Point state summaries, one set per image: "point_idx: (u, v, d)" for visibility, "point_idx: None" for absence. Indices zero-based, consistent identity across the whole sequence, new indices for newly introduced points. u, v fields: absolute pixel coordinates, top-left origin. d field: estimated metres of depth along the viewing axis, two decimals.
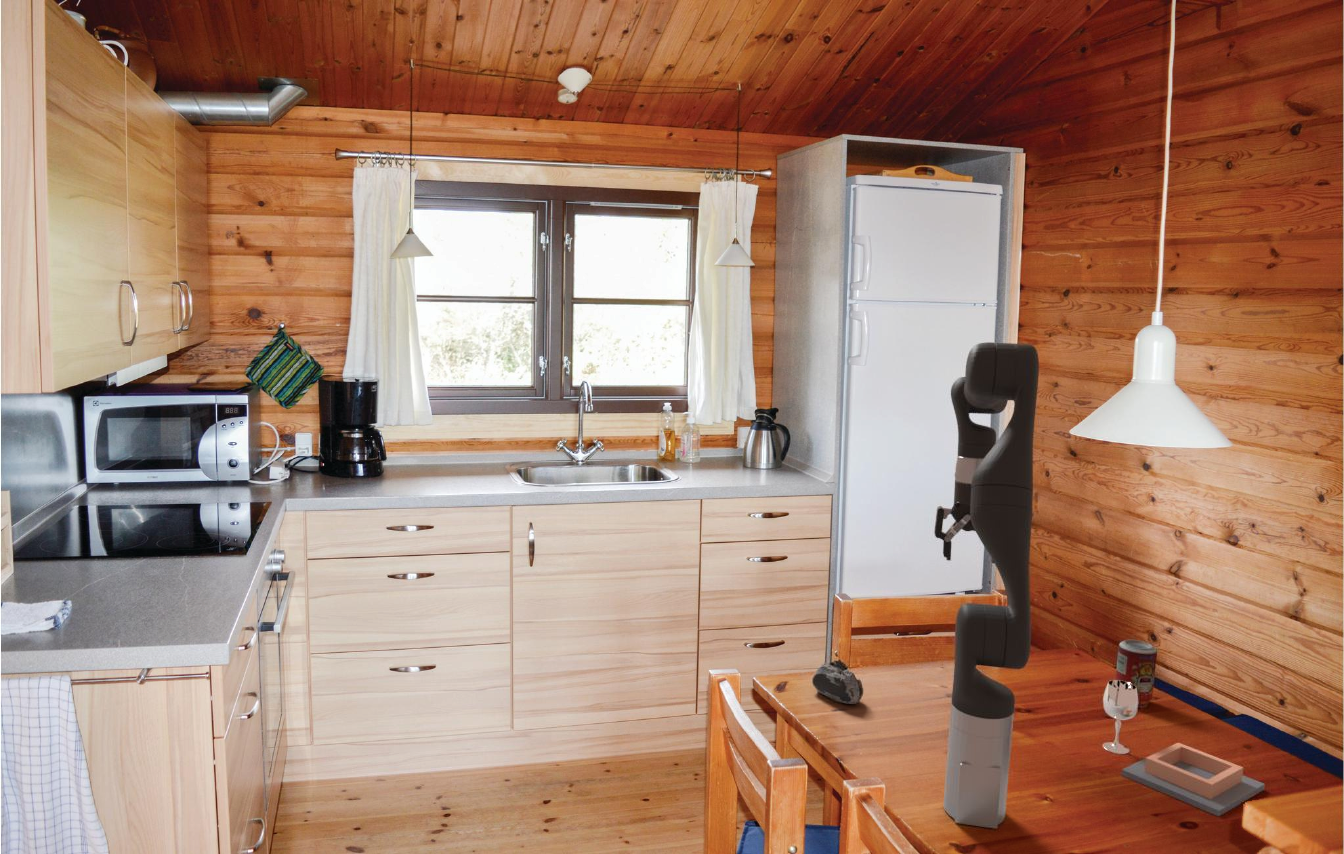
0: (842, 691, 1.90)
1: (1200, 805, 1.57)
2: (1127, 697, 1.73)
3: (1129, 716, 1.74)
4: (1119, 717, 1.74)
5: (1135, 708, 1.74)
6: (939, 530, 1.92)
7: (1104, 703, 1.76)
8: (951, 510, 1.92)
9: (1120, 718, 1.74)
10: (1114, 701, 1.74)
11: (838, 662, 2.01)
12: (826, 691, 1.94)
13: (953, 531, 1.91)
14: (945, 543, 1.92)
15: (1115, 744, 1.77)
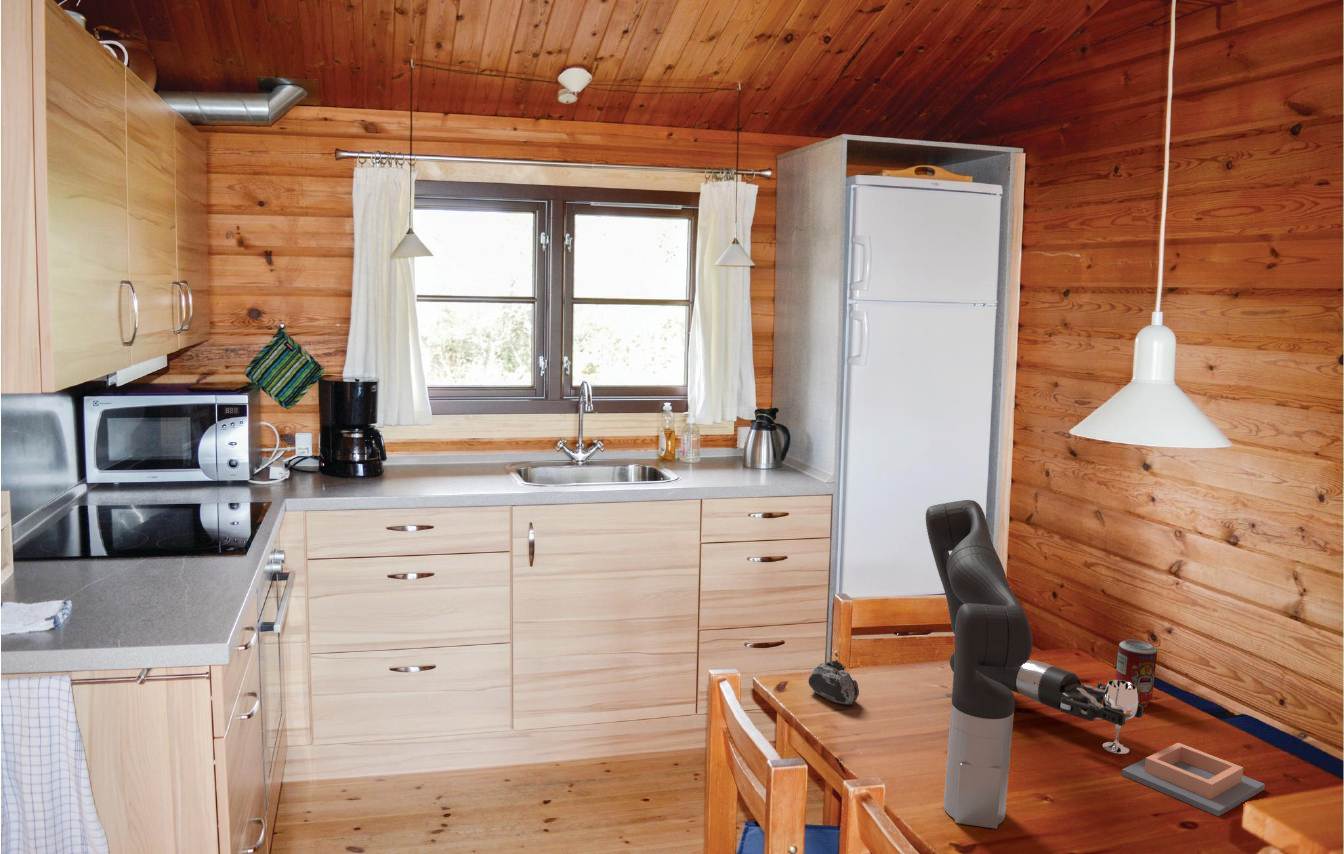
0: (837, 691, 1.90)
1: (1200, 805, 1.57)
2: (1127, 697, 1.73)
3: (1129, 716, 1.74)
4: None
5: (1135, 708, 1.74)
6: (1086, 704, 1.76)
7: (1104, 703, 1.76)
8: None
9: None
10: (1114, 701, 1.74)
11: (835, 662, 2.00)
12: (822, 692, 1.93)
13: (1092, 699, 1.77)
14: (1104, 710, 1.75)
15: (1115, 744, 1.77)
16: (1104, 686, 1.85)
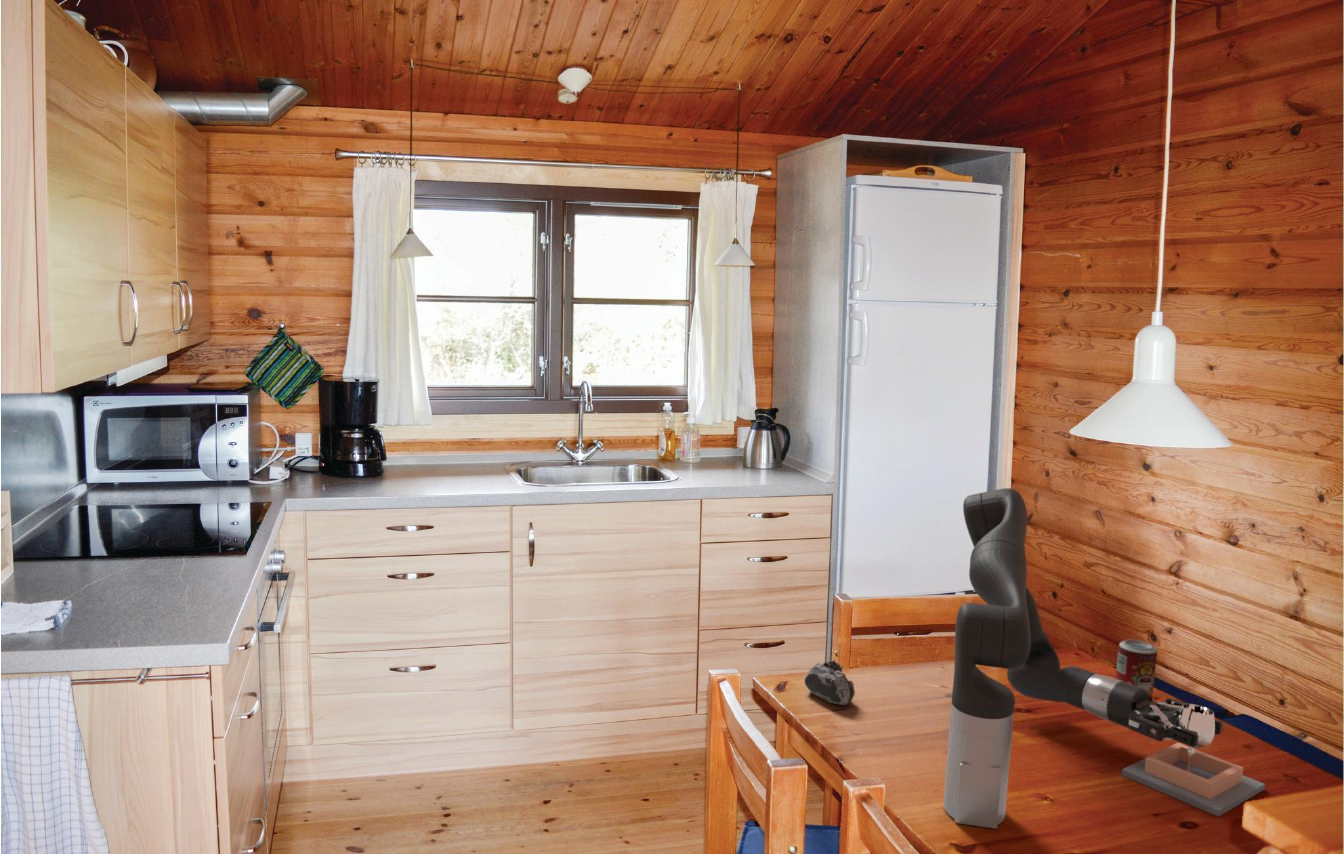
0: (832, 691, 1.90)
1: (1200, 805, 1.57)
2: (1204, 722, 1.61)
3: (1205, 743, 1.61)
4: None
5: (1212, 735, 1.61)
6: (1155, 723, 1.63)
7: None
8: (1138, 716, 1.68)
9: None
10: (1189, 725, 1.62)
11: (832, 663, 2.00)
12: (817, 692, 1.93)
13: (1163, 718, 1.65)
14: (1174, 730, 1.62)
15: None
16: (1174, 701, 1.73)
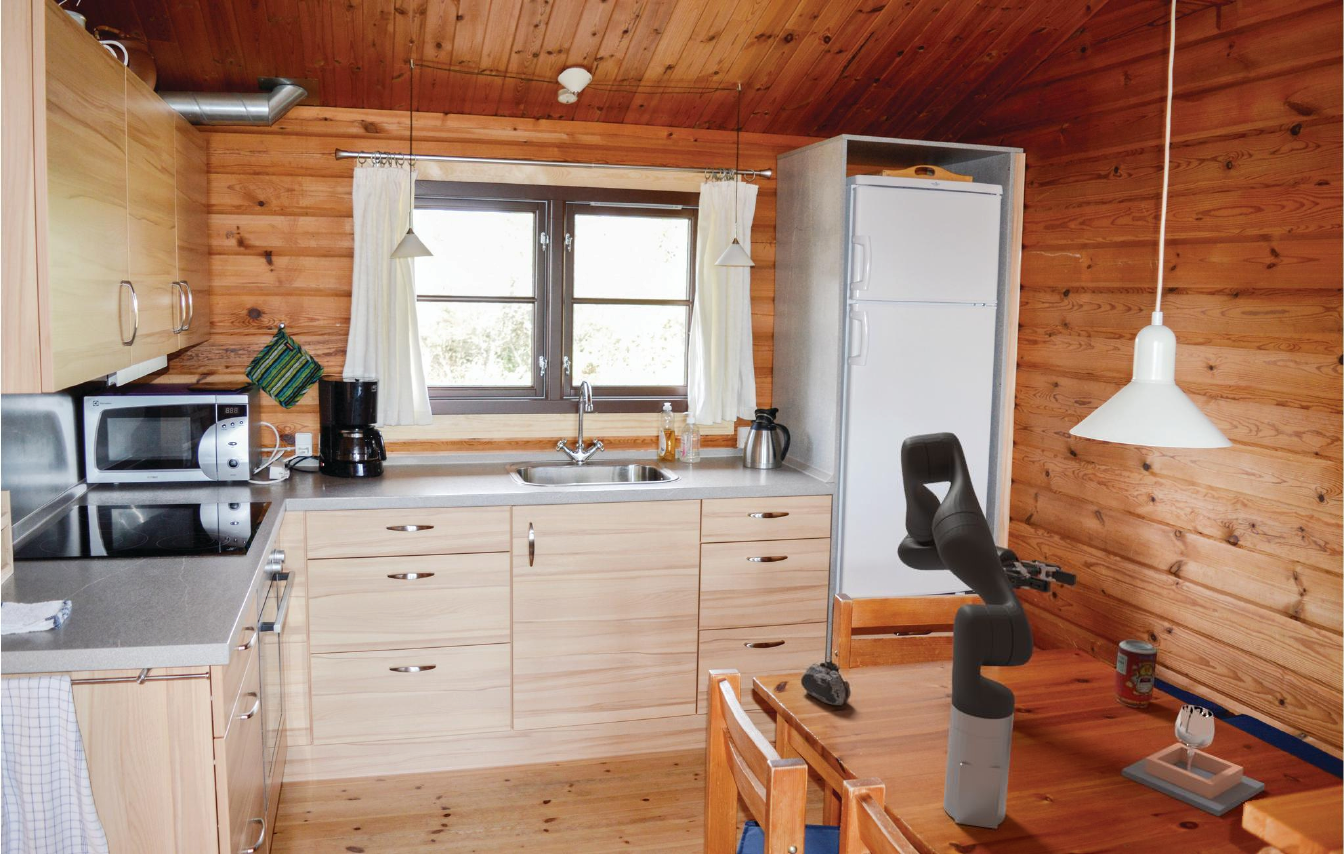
0: (827, 692, 1.90)
1: (1200, 805, 1.57)
2: (1203, 724, 1.60)
3: (1204, 745, 1.61)
4: (1193, 746, 1.61)
5: (1211, 737, 1.61)
6: (1014, 574, 1.82)
7: (1177, 730, 1.63)
8: None
9: (1194, 747, 1.61)
10: (1189, 728, 1.61)
11: (829, 663, 2.00)
12: (813, 692, 1.93)
13: (1022, 570, 1.84)
14: (1031, 579, 1.81)
15: None
16: (1039, 561, 1.92)
